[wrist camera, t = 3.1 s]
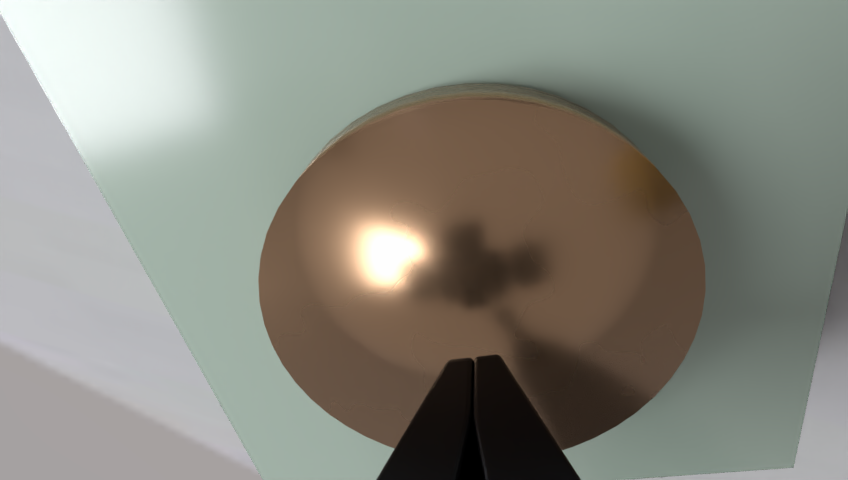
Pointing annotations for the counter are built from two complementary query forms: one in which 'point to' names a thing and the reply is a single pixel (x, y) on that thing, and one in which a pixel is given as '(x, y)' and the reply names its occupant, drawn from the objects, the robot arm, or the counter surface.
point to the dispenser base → (449, 65)
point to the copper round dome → (482, 261)
